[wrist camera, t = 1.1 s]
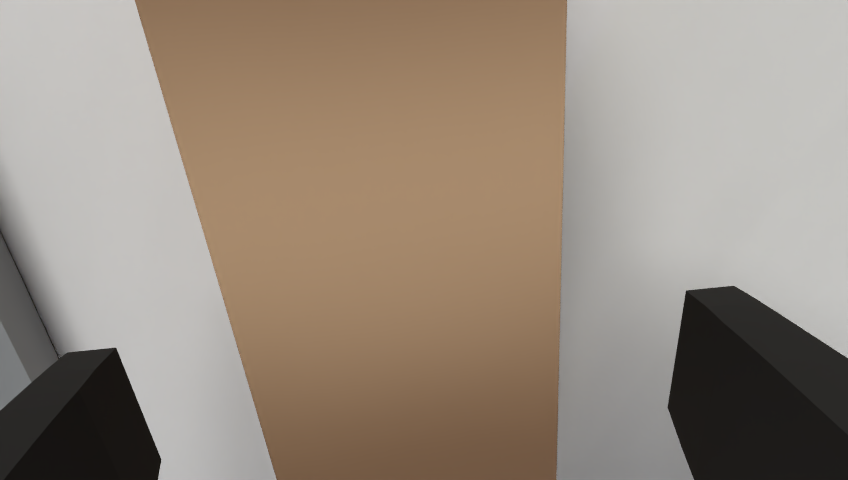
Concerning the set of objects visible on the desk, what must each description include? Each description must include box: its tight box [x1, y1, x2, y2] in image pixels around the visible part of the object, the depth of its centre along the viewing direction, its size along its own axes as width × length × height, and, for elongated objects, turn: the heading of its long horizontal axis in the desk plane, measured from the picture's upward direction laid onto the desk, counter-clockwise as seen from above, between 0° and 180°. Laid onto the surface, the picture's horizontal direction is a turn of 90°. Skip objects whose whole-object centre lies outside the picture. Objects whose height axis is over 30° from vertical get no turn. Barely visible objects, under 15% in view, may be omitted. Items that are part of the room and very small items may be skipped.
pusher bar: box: [135, 0, 567, 480], centre depth 10 cm, size 12×3×6 cm, turn 5°
